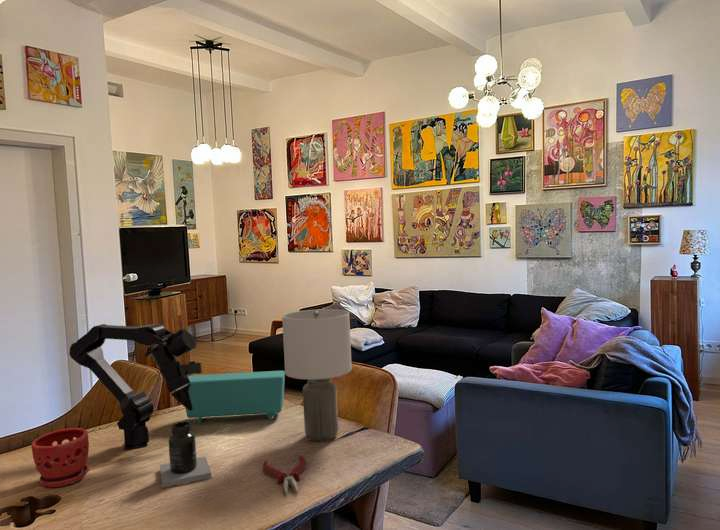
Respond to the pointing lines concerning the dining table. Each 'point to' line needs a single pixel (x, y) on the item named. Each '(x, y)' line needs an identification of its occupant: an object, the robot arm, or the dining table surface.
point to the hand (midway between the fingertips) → (190, 409)
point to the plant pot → (61, 456)
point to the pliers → (283, 477)
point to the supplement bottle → (182, 448)
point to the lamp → (318, 364)
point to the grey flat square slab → (197, 474)
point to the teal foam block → (236, 394)
